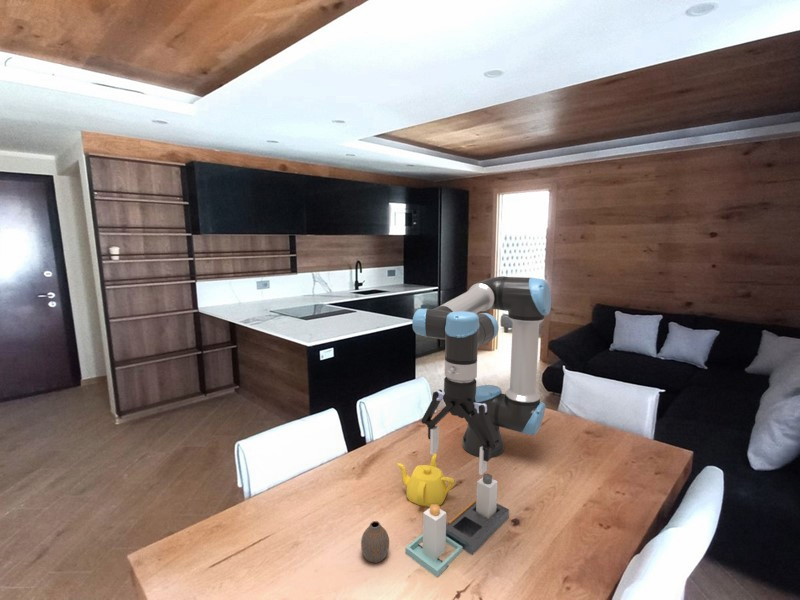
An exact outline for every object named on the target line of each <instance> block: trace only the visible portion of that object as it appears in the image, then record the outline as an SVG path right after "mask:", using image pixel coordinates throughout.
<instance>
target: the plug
mask: <svg viewBox="0 0 800 600" xmlns="http://www.w3.org/2000/svg"><path fill="white" fill-rule="evenodd" d="M446 524H447V512H446V510H445V511H444V510H443V509H442V508H441V505H440V506H439V505H438V504H431V505H430V507H428V508H427V509H426V510H425V511H424V512H422V534H423V540H422V547H423V554H425V555H426V556H427V557H429V558H430V559H431V560H433V561H434V562H436V561H437V560H438V559H440V558H439V557H441V556H442V555H443V554H444V553H445V552H446V548H447V547H446V544H447V543H446Z"/></svg>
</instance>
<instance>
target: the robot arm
mask: <svg viewBox="0 0 800 600" xmlns="http://www.w3.org/2000/svg"><path fill="white" fill-rule="evenodd" d="M551 306H552V293H551V288H550V286H549V284H548V282H547V280H545V279H543V278H542V279H541V278H535V277H523V276H520V277H519V276H518V277H517V276H506V275H505V276H503V275H500V276H494V277H491V278H487V279H484V280H481V281H479V282H477V283H474V284H473V285H471V286H470V287H469V289H468V290H467V291H465V292H463V293H462V294H460V295H458V296H456V297H454V298H452V299H450V300H448V301H447V302H444V303H442V304H441V305H439V306H437V307H434V308H433V309H432V308H431V309H430V308H428V307H427V308H418V309H417V310H416V311H415V312H414V314H413V317H412V330H413V332H414V333H415V334H416V335H418V336H422V337H425V338H433V339H438V340H445V341H444V342H445V343H444V344H445V347H444V348H445V351H444V354H445V355H444V376H445V377H444V379H443V381H444V382H443V390H442V389H437V390H436V391H434V392H433V393H432V397H431V398H432V399H431V402H430V403H429V405H428V407H427V409H426V411H425V413H424V414H423V416H422V419H421V424H423V425H426V428H427V438H428V440H430V444H429V445H430V446H429V454H430V455H432V456H433V454H434V453H436V454H437V452H439V445H440V444H439V441H440V439H439V438H440V433H439V432H440V426H438V423H440V422H441V421H442V420H443V419H444V418H445V417H446V416H447V415H448V414H449V413H450V415H452V416H457V417H458V418H460V419H465V422H466V423H467V427H466V429H465V432H464V434H463V437H462V448H463V450H464V451H466V452H467V453H468V454H470V455H473V456H475V457H479V458H478V459H479V461H478V462H479V463H478V475H480V476H483V475H484V474H486V473H485V472H487V471H488V462H489V461H490V460H491V459H492V458H495V457H497V456H500V455H501V454H502V453H503V452H504V444H505V443H504V441H503V436H502V433H501V429H500V428H504V429H507V430H511V431H514V432H516V433H517V432H518V433H521V435H522V434H525V435H529V436H534V435H536V434H538V432H539V430H540V428H541V426H542V423H543V420H544V417H545V412H546V403H545V402H543V401H541V395H540V394H539V392H537V374H538V373H537V372H538V354H539V337H540V336H539V335H540V324H541V323H542V322H543V321H544V320H545V317H546V316H548V315H550V312H551V311H552V310H551V308H552V307H551ZM488 310H496V311H505V312H508V313H507V317H508V319H509V320H510V321H511V323H512V326H511V328H512V331H511V332H512V333H511V353H510V355H511V356H510V377H509V378H510V379H509V382H510V383H509V388H507V389H506V390H505V392H504V393H502V392H503V391H502V388H501V387H499V386H497V385H494V384H481V385H477V379H476V378H477V376H478V355H479V354H478V351H479V347H481V346H483V345H485V344H488V343H490V342H492V340H493V339H495V338H496V337H497V335H498V334H499V323H498V321H497V319H496V317H495V316H493V315H492V314H490V313H486V312H485V311H488ZM480 312H482V313H480ZM442 400H443V402H444V404H445V406H444V407H443V408H442V409H440V412H439V413H437V415H435V416H434V414H435V412H436V410H437V409H438V406H439V405H440V403H441V401H442ZM433 416H434V417H433ZM432 417H433V418H432Z"/></svg>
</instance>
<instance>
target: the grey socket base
mask: <svg viewBox="0 0 800 600" xmlns="http://www.w3.org/2000/svg"><path fill="white" fill-rule="evenodd" d="M508 519H510V509H509V508H507V507H505V506H503V505H501V504H499V503H498V502H497V508H496V514H495V515H494V516H493V517H492V518H491V519H490V520H489V519H487V518H486V517H484V516H482V515H480V514H479V513H477V512H476V498H475V499H474V500H473V501H471V502H470V503H469V504H468V505H467V506H465V507H464V508H463V509H462V510H461V511H459V512H458V513H457V514H455V516H454V517H453V518H452V519H450V520H449V521H448V522H446V536H447V537H448V538H450V539H451V540H453V541H454V542H456V543H458V544H459V545H461V546H462V547H463V550H464V551H465V552H467V553H469V554H470V555H471V556H473V555H474V554H475V553H476V552H477V551H478V550H479V549H480V548H481V547H482V546H483V545H484V544H485V543H486V541H487V540H488V539H489V538H491V537H492V535H493V534H495V532H497V530H498V529H499V528H501V526H502V525H504V524H505V522H507V520H508Z"/></svg>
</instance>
